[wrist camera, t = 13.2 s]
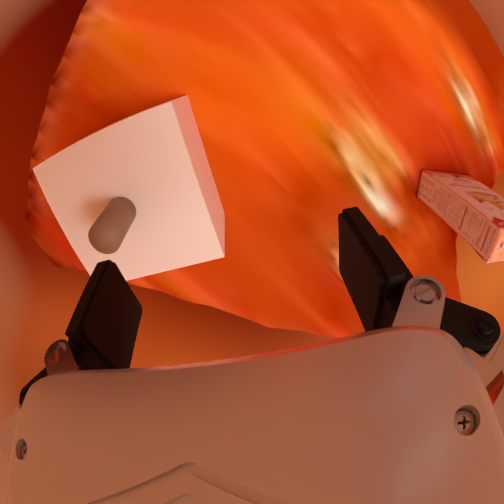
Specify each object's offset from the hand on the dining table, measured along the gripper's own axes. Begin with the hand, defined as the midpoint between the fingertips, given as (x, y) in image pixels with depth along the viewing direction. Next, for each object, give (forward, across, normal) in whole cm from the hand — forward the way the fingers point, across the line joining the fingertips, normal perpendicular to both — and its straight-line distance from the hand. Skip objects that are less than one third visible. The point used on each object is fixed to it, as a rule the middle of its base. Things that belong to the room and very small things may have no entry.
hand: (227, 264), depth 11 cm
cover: (+31, +14, +4) cm, 34 cm away
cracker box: (+31, -38, +16) cm, 51 cm away
